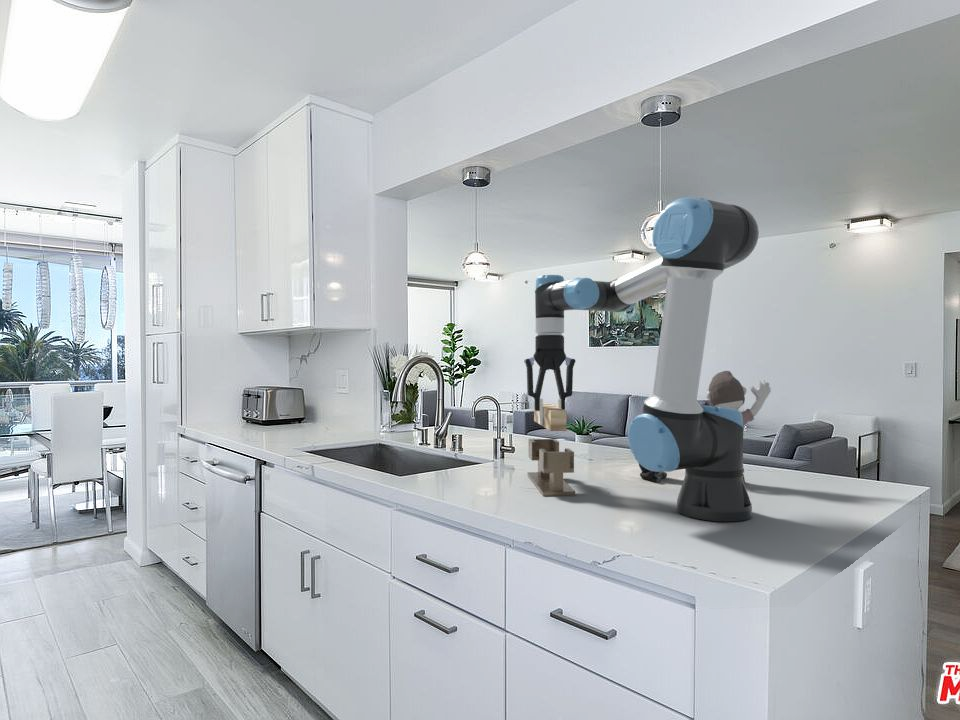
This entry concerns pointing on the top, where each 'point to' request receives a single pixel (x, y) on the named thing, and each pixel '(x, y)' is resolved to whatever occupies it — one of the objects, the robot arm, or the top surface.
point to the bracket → (551, 467)
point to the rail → (552, 417)
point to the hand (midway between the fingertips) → (549, 423)
